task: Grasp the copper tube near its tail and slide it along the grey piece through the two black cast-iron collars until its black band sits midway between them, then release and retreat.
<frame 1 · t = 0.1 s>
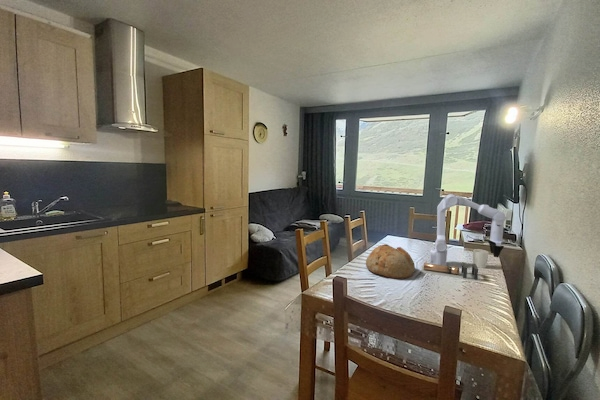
hand: (494, 255, 159), 10 cm above the table, tool pointing down, fingers open, 7 cm apart
collar 1: (463, 275, 154), resting on grey piece
bread: (389, 271, 161), on the table
grey piece: (449, 274, 157), on the table
collar 2: (474, 276, 152), resting on grey piece
copper tube: (440, 271, 159), point 1 cm above the table, touching grey piece
white cup: (479, 267, 169), on the table
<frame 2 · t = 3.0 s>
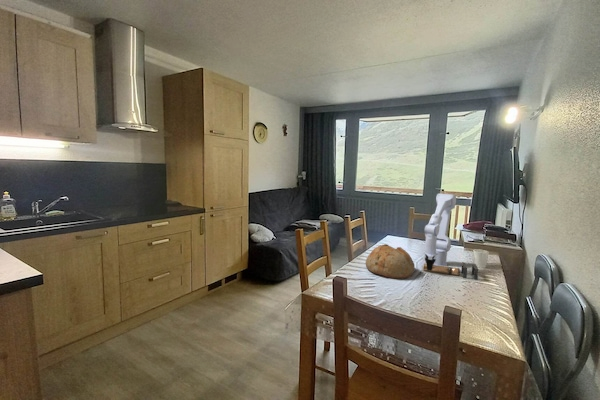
hand: (429, 267, 161), 2 cm above the table, tool pointing down, fingers open, 7 cm apart
copper tube: (440, 271, 158), point 1 cm above the table, tilted 43°, touching grey piece
everything else where it was.
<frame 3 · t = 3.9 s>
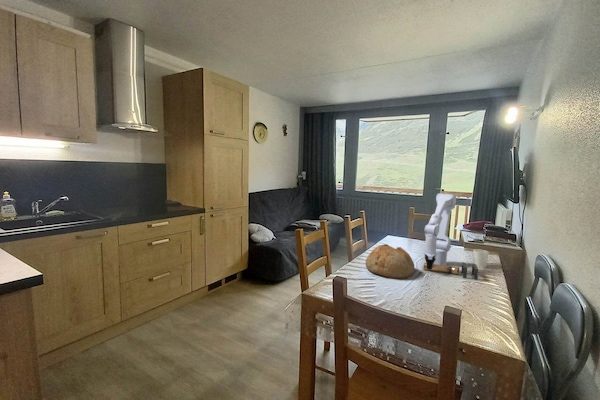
hand: (429, 267, 161), 2 cm above the table, tool pointing down, fingers closed on copper tube, 4 cm apart
copper tube: (440, 271, 159), point 1 cm above the table, touching gripper, grey piece
everything else where it was.
when the fingers open (2 cm above the table, at t = 7.7 s): copper tube stays where it is, resting on grey piece.
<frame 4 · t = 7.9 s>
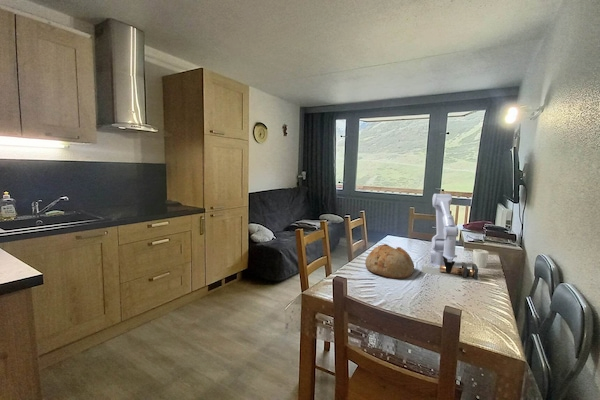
hand: (447, 270, 157), 2 cm above the table, tool pointing down, fingers open, 6 cm apart
copper tube: (457, 274, 155), point 1 cm above the table, touching grey piece
everything else where it was.
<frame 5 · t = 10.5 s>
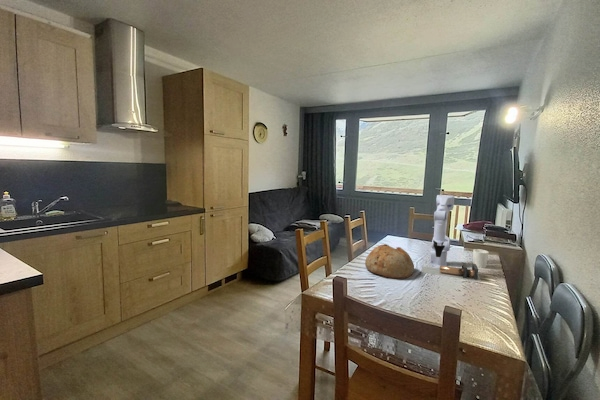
hand: (437, 254, 158), 10 cm above the table, tool pointing down, fingers open, 7 cm apart
copper tube: (457, 273, 155), point 1 cm above the table, tilted 31°, touching grey piece
everything else where it was.
at the end: copper tube 1.1 cm from the target spot, point 0.9 cm above the table; the gripper is holding nothing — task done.
